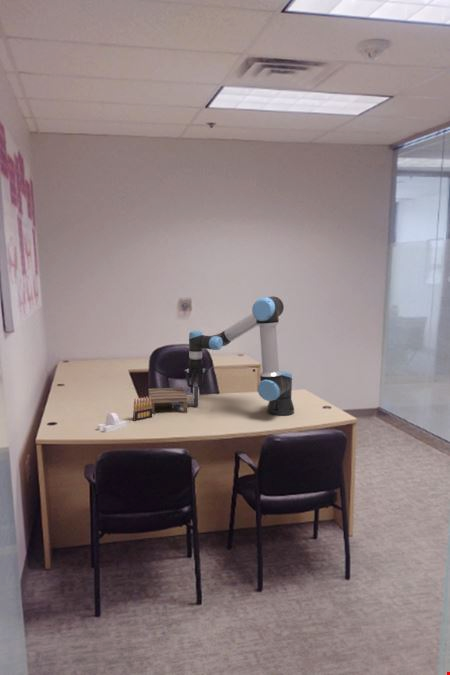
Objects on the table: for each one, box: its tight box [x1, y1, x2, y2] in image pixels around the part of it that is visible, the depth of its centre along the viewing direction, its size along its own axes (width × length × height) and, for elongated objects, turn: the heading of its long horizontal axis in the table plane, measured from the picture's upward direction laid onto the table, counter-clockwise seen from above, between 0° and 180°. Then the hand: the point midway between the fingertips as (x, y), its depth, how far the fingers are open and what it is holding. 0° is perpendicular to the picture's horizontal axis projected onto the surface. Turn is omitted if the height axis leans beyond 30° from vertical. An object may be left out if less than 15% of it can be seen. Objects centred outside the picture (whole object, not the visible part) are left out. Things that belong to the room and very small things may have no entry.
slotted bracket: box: [97, 412, 127, 433], centre depth 250 cm, size 13×7×8 cm, turn 140°
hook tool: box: [170, 384, 199, 410], centre depth 288 cm, size 7×15×12 cm, turn 101°
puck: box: [174, 405, 183, 409], centre depth 288 cm, size 5×5×1 cm
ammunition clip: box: [132, 395, 153, 422], centre depth 265 cm, size 11×2×12 cm, turn 129°
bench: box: [148, 387, 188, 415], centre depth 286 cm, size 24×20×8 cm
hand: (195, 398), depth 289 cm, fingers closed on hook tool, 2 cm apart
